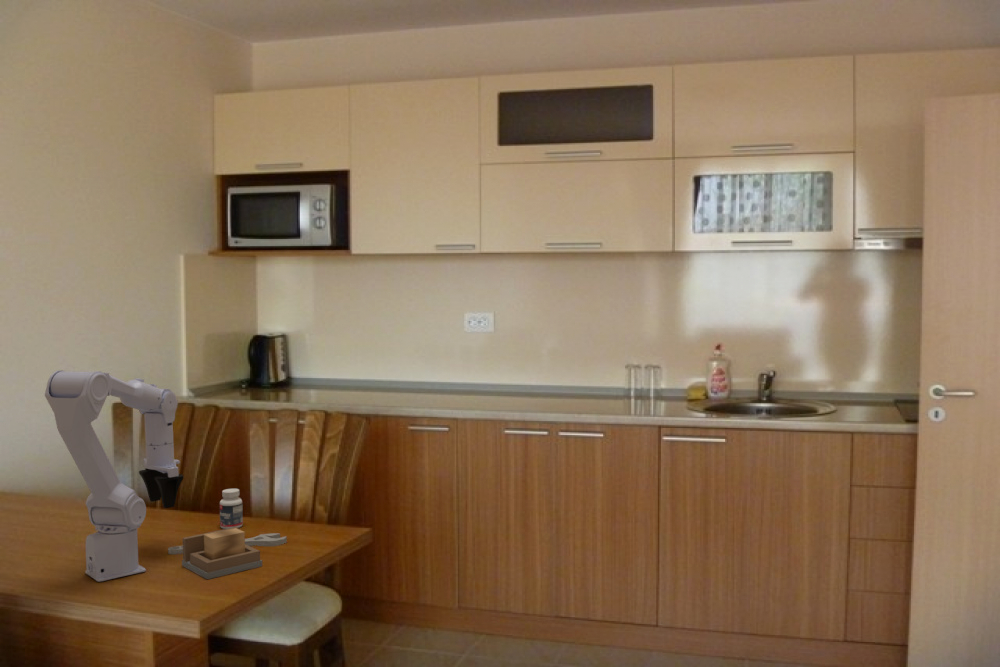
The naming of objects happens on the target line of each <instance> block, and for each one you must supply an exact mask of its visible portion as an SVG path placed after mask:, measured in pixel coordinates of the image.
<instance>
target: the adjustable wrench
mask: <svg viewBox="0 0 1000 667" xmlns="http://www.w3.org/2000/svg"><path fill="white" fill-rule="evenodd" d="M287 538H288V537H287V536H282V537H281V533H277V532H276V533H274V532H273V533H272V532H271V533H260V534H259V535H257V536H254V537H253V536H252V537H248V538H245V544H246V545H248V546H250V547H278V546H282V545H285V544H287V543H288V541H287V540H288V539H287ZM284 543H285V544H284ZM281 544H282V545H281ZM254 545H255V546H254ZM256 545H257V546H256ZM167 552H168V553H167V554H168V555H181V554H182V555H183V545H175V546H170V547H168V548H167Z"/></svg>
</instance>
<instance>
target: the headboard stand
mask: <svg viewBox="0 0 1000 667" xmlns="http://www.w3.org/2000/svg"><path fill="white" fill-rule="evenodd" d="M234 528H237V529H239V530H240V527H239V528H238V527H233V528H229V529H234ZM229 529H219V530H214V531H211V532H205V533H200V534H195V535H191V536H190V535H189V536H186V537H182V546H183V553H182V558H183V559H181V565H182V567H184V568H186V570H189V571H191V572H193V573H195V574H196V575H198V576H200V577H202V578H203V579H206V580H210V579H215V578H219V577H222V576H223V577H224V576H227V575H231V574H235V573H241V572H243V571H248V570H252V569H256V568H261V567H263V560H262V559H261V550H259V549H257V548H255V547H253V546H248V545H246V544H245V553H241V554H236V555H232V556H228V557H223V558H219V559H214V560H209V559H207V558H205V554H204V535H205V534H210V533H215V532H220V531H224V530H229Z"/></svg>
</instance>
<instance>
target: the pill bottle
mask: <svg viewBox="0 0 1000 667" xmlns="http://www.w3.org/2000/svg"><path fill="white" fill-rule="evenodd" d="M221 492H222V493H221V495H222V496H221V497H222V499H221V500H220V501H219V527H220V528H221V529H222V530H224V529H229V528H233V527H238V528H239V529H240V528H241V527H242V526H243V524H244V519H243V518H244V517H243V513H244V512H243V500H242V498H241V497H240V493H241V492H240V489H239V488H226V489H223V490H222V491H221Z"/></svg>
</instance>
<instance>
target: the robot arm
mask: <svg viewBox="0 0 1000 667" xmlns="http://www.w3.org/2000/svg"><path fill="white" fill-rule="evenodd" d="M109 396H111V397H115V398H119V400H120V402H121V403H122V405H124V406H125V407H128V408H132V409H135V410H138V412H139V413H140V414H141V415H144V416H143V417H144V435H145V436H144V438H145V458H143V467H144V469H141V470H139V471H138V474H139V475H140V477H141V479H142V481H143V482H144V485H145V489H146V490H147V495H148V498H149V501H150V502H151V503H152V502H156V501H157V502H158V501H161V503H162V507H163V509H171V508H174V507H175V506H176V505H175V504H176V502H177V495H178V491H179V488H180V486H181V483H182V482H183V479H184V475H183V474H182V473H180V474H179V467H178V466H177V465H179V464H181V463H180V460H179V459H175V449H174V448H175V447H174V444H175V443H174V429H173V428H174V427H173V426H174V425H173V424H174V423H173V422H175V419H176V411H177V408H178V404H179V403H178V402H179V401H178V399H177V395H176V394H175V392H174V391H173V390H172V389H170V388H159V387H158V385H157V384H154V383H150V384H149V383H146V382H145V379H143V378H139V377H137V378H136V377H135V378H134V379H130V380H127V381H124V380H122V379H120V378H118V377H115V376H113V375H110V373H109V372H103V371H101V370H94V371H81V370H80V371H74V370H73V371H71V370H70V371H69V370H68V371H67V370H56V371H54V372H53V373H52V374H51V375H50V376H49V378H48V380H47V384H46V386H45V392H44V397H45V399H46V400H47V403H48V404H49V406H50V408H51V410H52V412H53V414H54V419H55V420H54V421H55V425H56V430H57V431H58V433H59V435H60V437H61V439H62V440H63V442H64V445H65V446H66V448H67V449H68V452H69V454H70V455H71V456H70V457H71V458H72V459H73V462H74V463H75V464H76V467H77V468H78V471H79V473H80V474H81V476H82V477H83V480H84V481H85V483H86V486H87V487H88V489H89V491H90V494H89V495H88V496H87V498H86V501H85V506H86V508H87V511H88V519H89V522H90V523H91V525H92V526H94V530H95V531H96V532H94V533H91V534H88V535H87V536H86V538H85V564H86V566H85V567H86V570H85V571H84V572H85V575H87V576H89V577H90V578H92V579H94V580H95V581H96V582H98V583H99V582H104V581H109V580H112V579H117V578H123V577H126V576H131V575H135V574H140V573H144V572H147V569H146V568H145V567H144V566H142V565H141V564H139V547H138V546H139V545H138V544H139V543H138V540H139V539H138V529H139V528H141V525H142V524H143V522H144V520H145V518H146V515H147V506H146V503H145V501H144V499H143V498H142V497H139V495H137V492H136V491H135V489H133V488H131V487H129V486H127V485H125V484H123V483H122V482H121V480H120V478H119V477H118V475H117V472H116V471H115V469H114V467H113V465H112V463H111V462H110V459H109V458H108V456H107V453H106V451H105V449H104V447H103V446H102V443H101V441H100V439H99V438H98V436H97V433H96V431H95V429H94V427H93V426H92V422H94V421H95V420H97V419H98V417H99V415H100V413H101V412H102V409H103V406H104V404H105V402H106V400H107V397H109Z"/></svg>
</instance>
